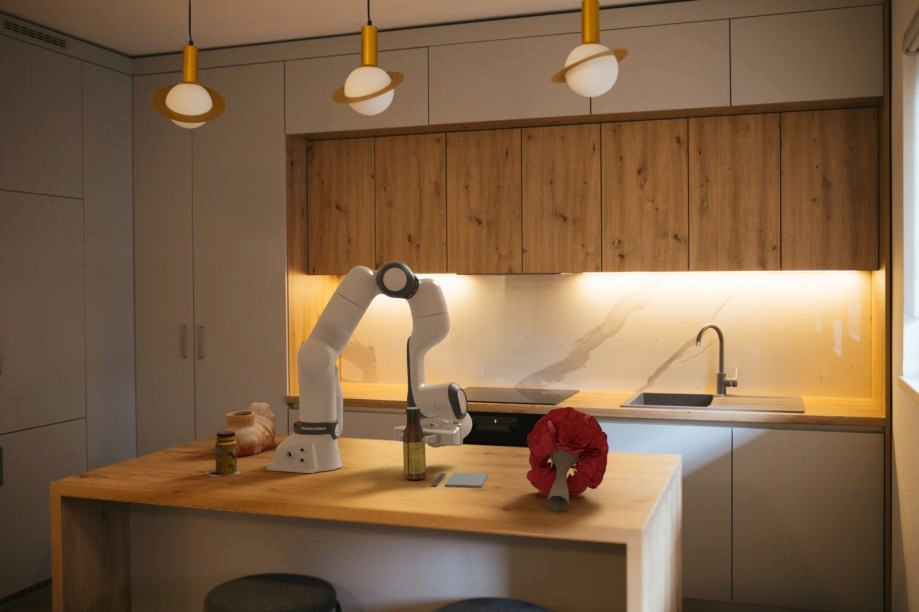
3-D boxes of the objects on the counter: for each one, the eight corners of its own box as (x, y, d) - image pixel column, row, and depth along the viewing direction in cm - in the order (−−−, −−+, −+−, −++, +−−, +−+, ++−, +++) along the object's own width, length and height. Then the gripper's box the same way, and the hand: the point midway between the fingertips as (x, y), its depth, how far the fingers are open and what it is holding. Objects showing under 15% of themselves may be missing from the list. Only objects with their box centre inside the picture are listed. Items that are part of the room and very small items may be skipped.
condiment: (241, 474, 254) (241, 433, 254) (212, 477, 250) (212, 435, 250) (233, 469, 261) (232, 429, 260) (204, 473, 256) (204, 432, 256)
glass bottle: (307, 441, 306) (307, 361, 305) (330, 437, 313) (330, 359, 313) (325, 445, 299) (324, 363, 298) (348, 441, 307) (348, 361, 306)
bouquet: (609, 537, 212) (614, 455, 237) (598, 462, 201) (604, 385, 226) (522, 537, 218) (535, 457, 243) (506, 464, 206) (522, 388, 231)
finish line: (431, 486, 237) (431, 485, 237) (441, 473, 253) (441, 472, 253) (436, 486, 237) (436, 485, 237) (446, 473, 253) (446, 472, 253)
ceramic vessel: (286, 444, 302) (285, 400, 302) (251, 458, 277) (251, 411, 276) (249, 442, 305) (248, 399, 305) (211, 457, 280) (211, 410, 279)
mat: (445, 486, 237) (445, 484, 237) (453, 474, 252) (453, 472, 252) (481, 487, 236) (481, 485, 236) (488, 475, 250) (488, 473, 250)
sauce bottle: (430, 477, 248) (430, 407, 247) (417, 481, 242) (417, 410, 241) (411, 474, 251) (411, 405, 250) (398, 478, 246) (398, 408, 245)
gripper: (407, 418, 263) (381, 425, 250) (467, 423, 253) (443, 431, 241) (407, 439, 263) (381, 447, 251) (467, 445, 253) (443, 453, 241)
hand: (412, 439), depth 246 cm, fingers closed on sauce bottle, 6 cm apart
